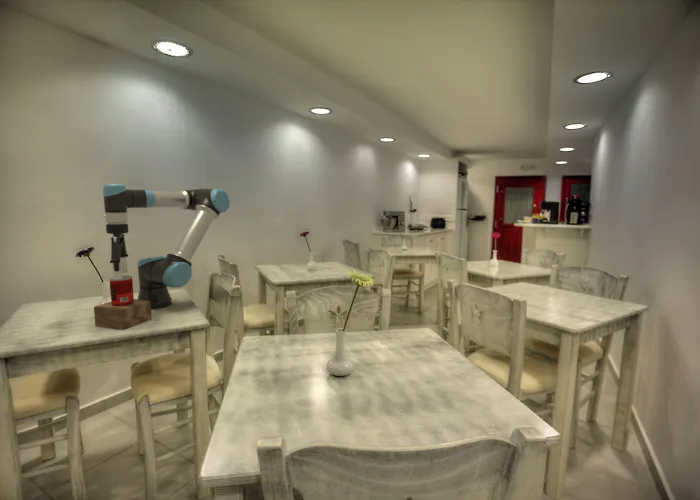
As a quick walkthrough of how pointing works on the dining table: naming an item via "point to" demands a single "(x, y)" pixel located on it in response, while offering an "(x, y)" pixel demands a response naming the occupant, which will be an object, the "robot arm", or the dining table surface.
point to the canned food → (121, 291)
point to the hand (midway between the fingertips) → (120, 276)
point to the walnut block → (122, 314)
